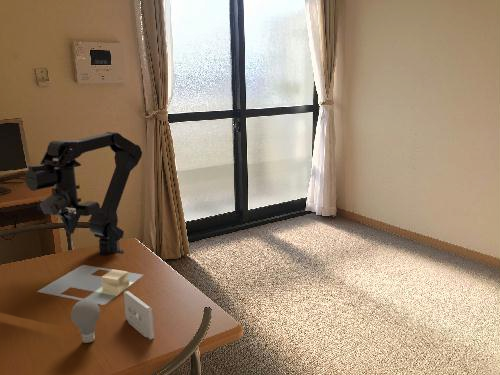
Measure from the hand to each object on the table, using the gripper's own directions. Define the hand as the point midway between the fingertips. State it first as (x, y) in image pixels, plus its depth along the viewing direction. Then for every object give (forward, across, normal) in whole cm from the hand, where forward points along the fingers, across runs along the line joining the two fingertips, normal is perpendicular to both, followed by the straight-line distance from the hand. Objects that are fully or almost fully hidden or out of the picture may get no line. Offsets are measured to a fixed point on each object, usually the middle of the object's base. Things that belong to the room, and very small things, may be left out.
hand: (71, 233), depth 127 cm
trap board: (+12, +13, -8) cm, 19 cm away
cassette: (+12, +37, -21) cm, 44 cm away
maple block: (+10, +21, -8) cm, 25 cm away
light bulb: (+12, +29, -29) cm, 43 cm away
